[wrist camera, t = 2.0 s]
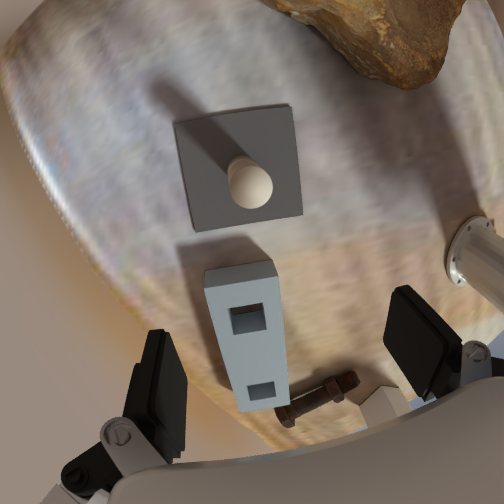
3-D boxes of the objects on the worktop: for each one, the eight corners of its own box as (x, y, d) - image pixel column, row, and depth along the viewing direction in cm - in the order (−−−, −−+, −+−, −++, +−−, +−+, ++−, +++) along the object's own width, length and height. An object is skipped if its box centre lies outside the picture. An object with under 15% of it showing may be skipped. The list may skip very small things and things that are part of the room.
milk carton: (378, 407, 52) (409, 473, 35) (358, 406, 50) (389, 478, 33) (400, 387, 50) (436, 453, 32) (380, 384, 48) (418, 458, 30)
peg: (254, 153, 28) (270, 163, 19) (258, 181, 29) (274, 205, 20) (225, 157, 28) (226, 170, 19) (229, 185, 29) (233, 211, 20)
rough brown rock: (313, 124, 28) (398, 140, 15) (232, 4, 20) (263, -71, 7) (438, 63, 26) (522, 66, 13) (383, -36, 18) (455, -67, 5)
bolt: (350, 364, 46) (278, 401, 47) (349, 361, 42) (269, 401, 43) (364, 390, 43) (290, 427, 44) (365, 390, 39) (283, 430, 40)
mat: (290, 106, 26) (291, 106, 26) (302, 213, 32) (303, 214, 31) (175, 123, 26) (174, 123, 26) (195, 231, 31) (195, 232, 31)
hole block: (205, 270, 33) (203, 288, 30) (272, 259, 33) (278, 276, 30) (238, 394, 43) (240, 412, 40) (285, 386, 44) (290, 404, 40)
